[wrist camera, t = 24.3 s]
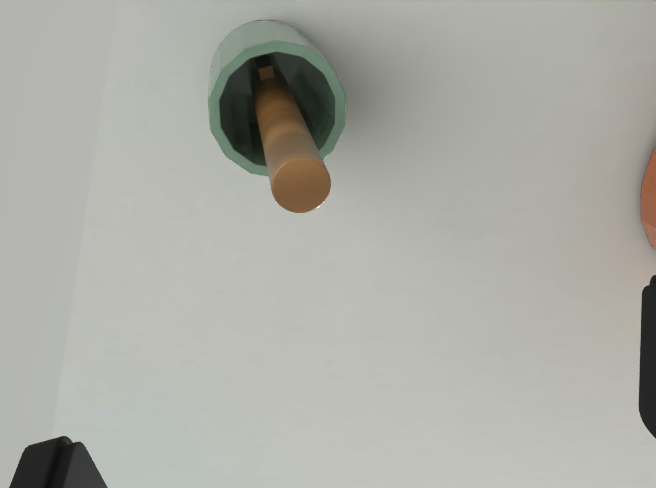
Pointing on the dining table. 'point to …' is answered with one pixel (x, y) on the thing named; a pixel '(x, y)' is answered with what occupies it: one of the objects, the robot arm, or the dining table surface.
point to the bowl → (649, 201)
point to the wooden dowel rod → (287, 143)
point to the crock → (301, 76)
